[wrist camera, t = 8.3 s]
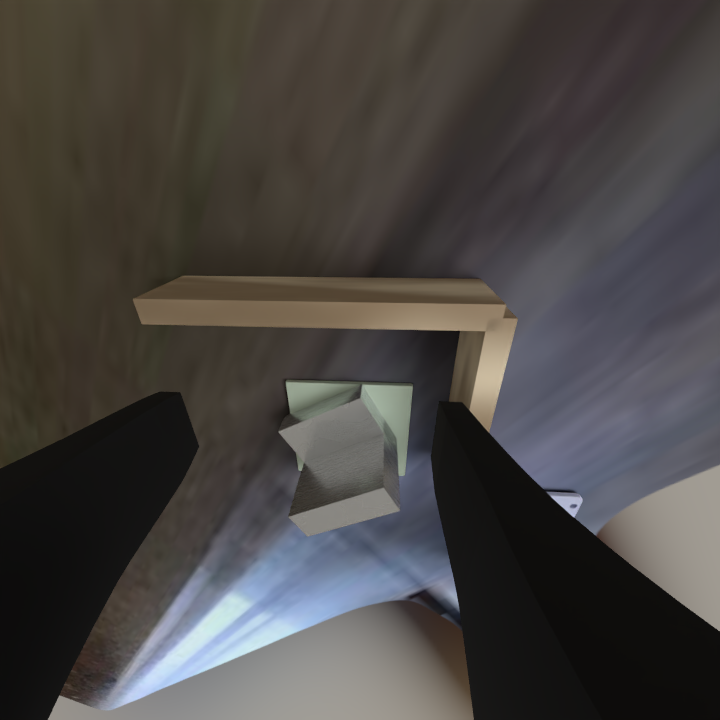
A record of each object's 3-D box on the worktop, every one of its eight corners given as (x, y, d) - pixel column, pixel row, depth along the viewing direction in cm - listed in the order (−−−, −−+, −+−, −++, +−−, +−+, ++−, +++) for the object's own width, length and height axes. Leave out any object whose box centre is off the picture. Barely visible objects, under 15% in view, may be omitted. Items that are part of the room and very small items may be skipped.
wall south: (457, 455, 22) (470, 505, 19) (440, 454, 23) (450, 504, 19) (490, 290, 17) (518, 318, 13) (466, 290, 17) (488, 318, 13)
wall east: (476, 301, 17) (499, 331, 13) (189, 296, 18) (142, 324, 14) (480, 278, 16) (506, 304, 13) (183, 275, 17) (132, 299, 14)
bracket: (323, 464, 23) (307, 536, 19) (284, 416, 21) (255, 483, 17) (396, 438, 22) (400, 510, 17) (362, 383, 20) (354, 448, 15)
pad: (404, 472, 24) (404, 475, 23) (299, 467, 24) (298, 470, 24) (412, 383, 20) (412, 386, 19) (286, 379, 20) (285, 382, 20)
